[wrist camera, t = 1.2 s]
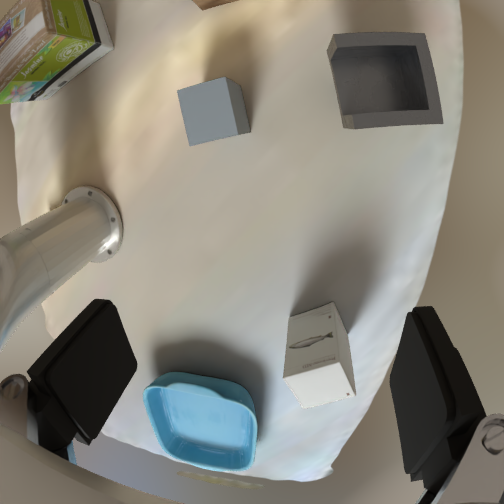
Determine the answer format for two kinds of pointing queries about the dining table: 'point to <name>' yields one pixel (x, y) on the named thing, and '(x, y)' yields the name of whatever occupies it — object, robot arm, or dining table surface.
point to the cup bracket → (384, 79)
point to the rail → (211, 3)
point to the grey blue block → (213, 110)
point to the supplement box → (318, 358)
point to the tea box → (48, 46)
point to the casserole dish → (203, 420)
